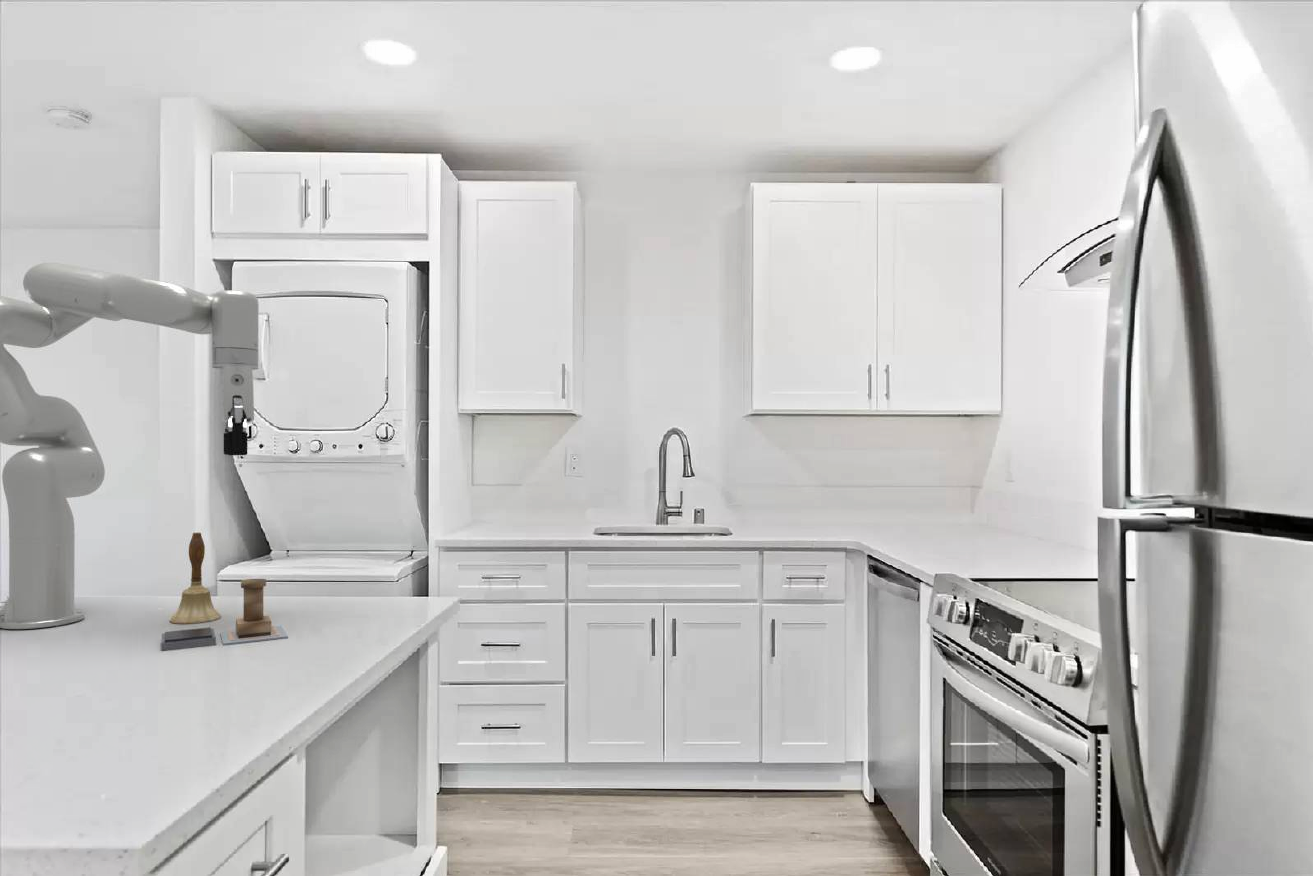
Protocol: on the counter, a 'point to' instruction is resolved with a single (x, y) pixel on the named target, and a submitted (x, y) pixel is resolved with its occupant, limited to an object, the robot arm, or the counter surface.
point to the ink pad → (188, 638)
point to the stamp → (253, 611)
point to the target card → (232, 637)
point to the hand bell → (196, 591)
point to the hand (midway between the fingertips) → (235, 454)
